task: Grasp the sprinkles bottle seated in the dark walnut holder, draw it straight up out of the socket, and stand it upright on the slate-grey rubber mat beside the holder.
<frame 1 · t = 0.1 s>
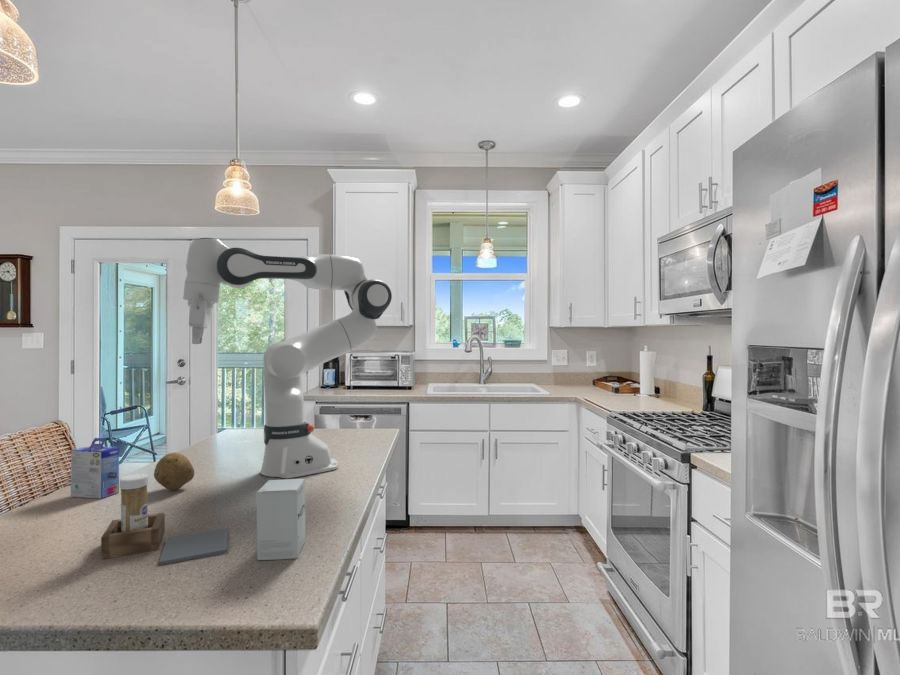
hand: (196, 343, 132), 39 cm above the counter, tool pointing down, fingers open, 8 cm apart
rubber mat: (196, 546, 91), on the counter
sprinkles bottle: (135, 545, 92), resting in walnut holder
walnut holder: (135, 544, 92), on the counter
ink cartridge box: (95, 495, 122), on the counter
supplement box: (282, 552, 89), on the counter
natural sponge: (173, 490, 125), on the counter
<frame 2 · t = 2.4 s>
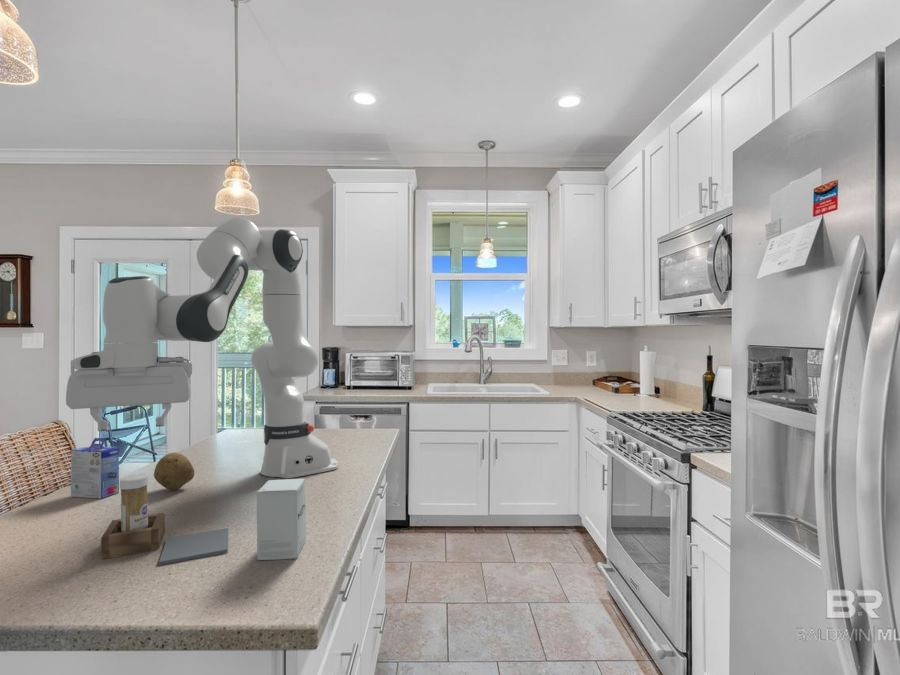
hand: (132, 428, 92), 23 cm above the counter, tool pointing down, fingers open, 8 cm apart
nothing on the counter moved.
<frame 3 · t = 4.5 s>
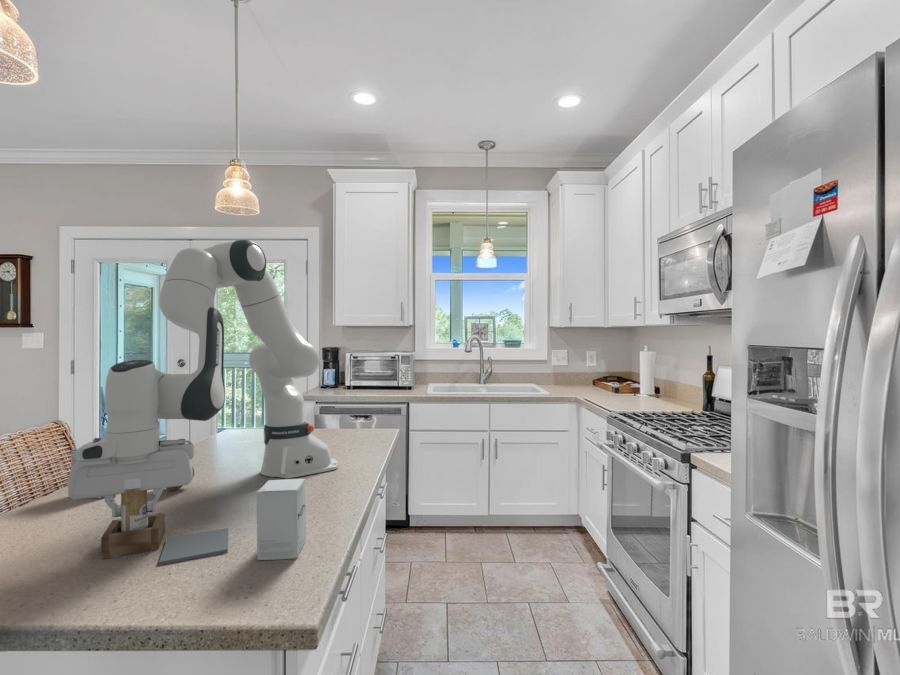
hand: (134, 513, 92), 6 cm above the counter, tool pointing down, fingers closed on sprinkles bottle, 4 cm apart
sprinkles bottle: (135, 545, 92), resting in walnut holder, touching gripper
everything else where it was.
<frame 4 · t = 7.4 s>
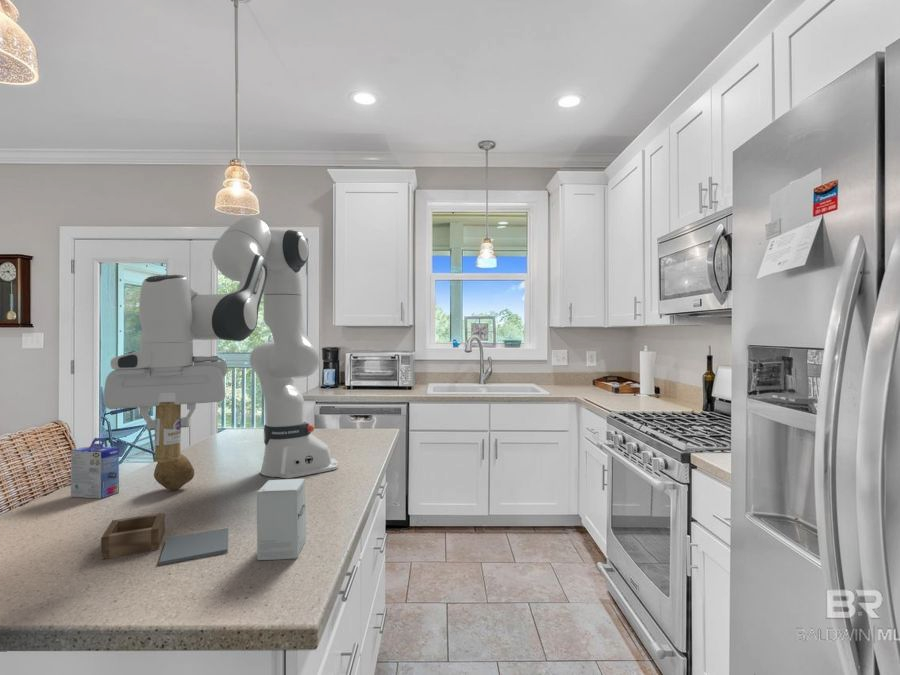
hand: (168, 428, 91), 23 cm above the counter, tool pointing down, fingers closed on sprinkles bottle, 4 cm apart
sprinkles bottle: (167, 461, 91), point 17 cm above the counter, touching gripper
everything else where it was.
when the fingers open (8 cm above the counter, at t = 10.3 s): sprinkles bottle drops 1 cm, resting on rubber mat.
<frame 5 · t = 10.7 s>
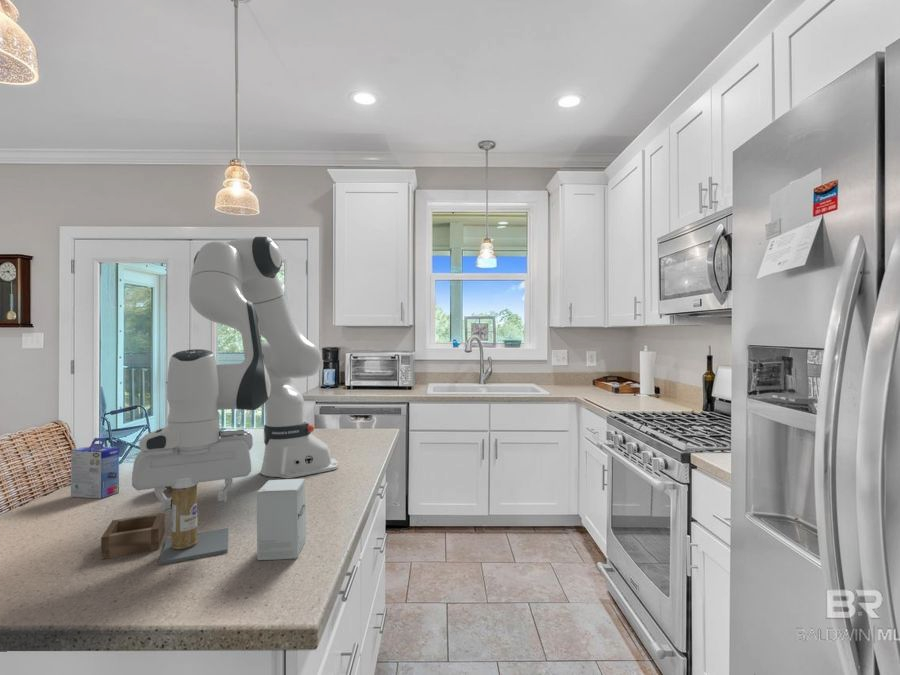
hand: (195, 504, 91), 8 cm above the counter, tool pointing down, fingers open, 8 cm apart
sprinkles bottle: (184, 546, 90), resting on rubber mat, touching gripper
everything else where it was.
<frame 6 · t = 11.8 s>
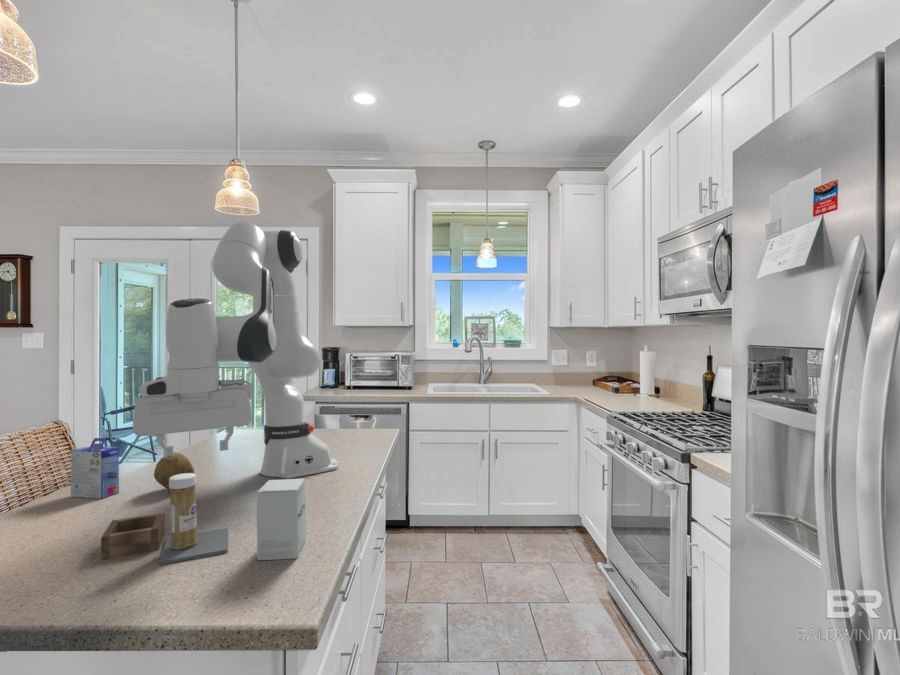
hand: (197, 453, 91), 18 cm above the counter, tool pointing down, fingers open, 8 cm apart
sprinkles bottle: (184, 546, 90), resting on rubber mat
everything else where it was.
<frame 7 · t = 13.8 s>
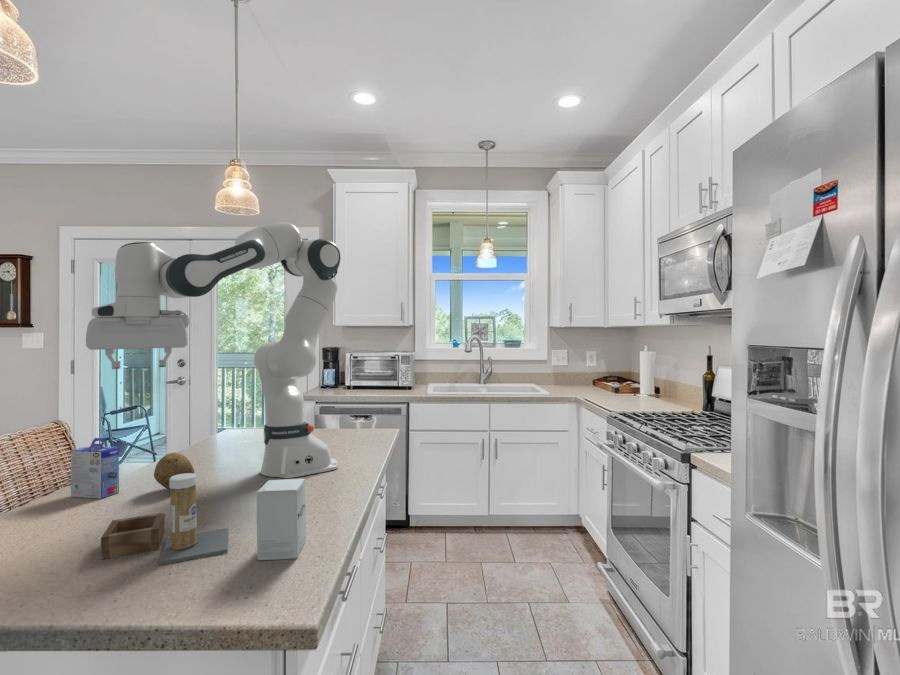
hand: (140, 367, 112), 34 cm above the counter, tool pointing down, fingers open, 8 cm apart
nothing on the counter moved.
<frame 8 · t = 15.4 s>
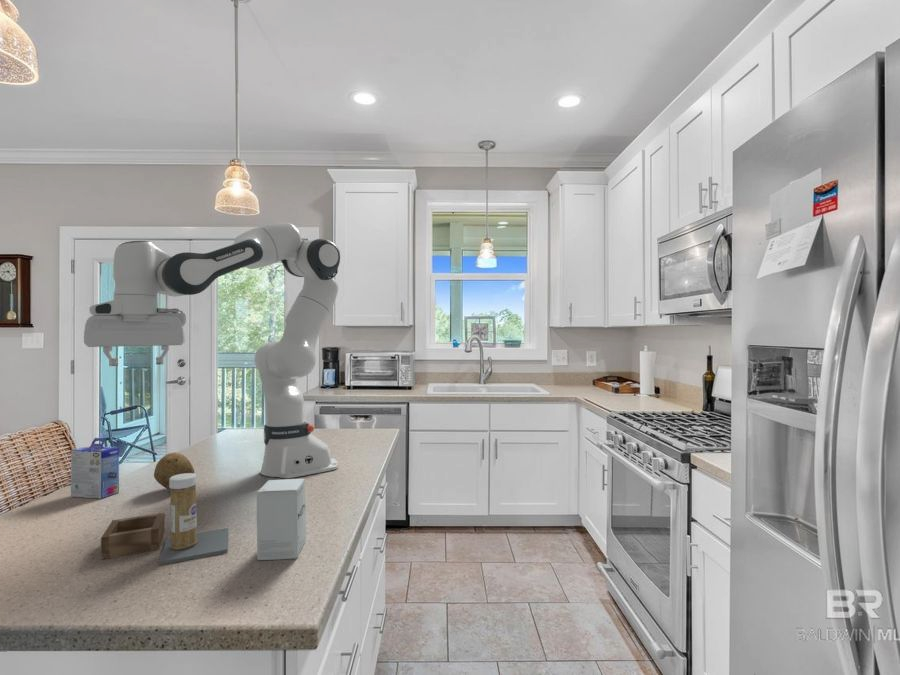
hand: (137, 365, 113), 34 cm above the counter, tool pointing down, fingers open, 8 cm apart
nothing on the counter moved.
at the end: sprinkles bottle inside the target area on the rubber mat (2.1 cm from its centre), point 0.4 cm above the rubber mat's base; sprinkles bottle tilted 0°; the gripper is holding nothing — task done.
